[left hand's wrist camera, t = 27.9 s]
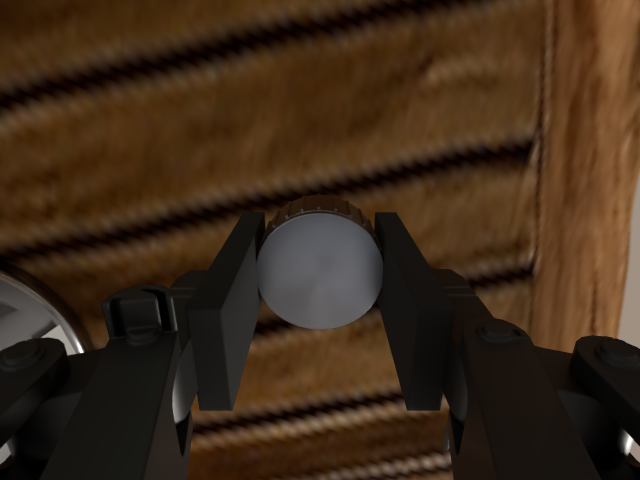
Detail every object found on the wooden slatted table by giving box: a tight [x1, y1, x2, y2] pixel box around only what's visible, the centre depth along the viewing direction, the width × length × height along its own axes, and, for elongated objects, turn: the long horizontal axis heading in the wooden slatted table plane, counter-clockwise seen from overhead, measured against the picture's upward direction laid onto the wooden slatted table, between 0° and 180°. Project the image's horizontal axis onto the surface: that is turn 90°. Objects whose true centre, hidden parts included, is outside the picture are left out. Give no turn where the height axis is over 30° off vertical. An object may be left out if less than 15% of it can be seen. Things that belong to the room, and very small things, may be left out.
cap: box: [256, 194, 384, 329], centre depth 13 cm, size 4×4×2 cm
